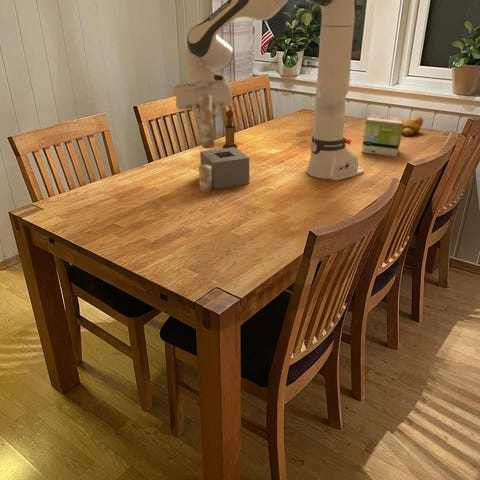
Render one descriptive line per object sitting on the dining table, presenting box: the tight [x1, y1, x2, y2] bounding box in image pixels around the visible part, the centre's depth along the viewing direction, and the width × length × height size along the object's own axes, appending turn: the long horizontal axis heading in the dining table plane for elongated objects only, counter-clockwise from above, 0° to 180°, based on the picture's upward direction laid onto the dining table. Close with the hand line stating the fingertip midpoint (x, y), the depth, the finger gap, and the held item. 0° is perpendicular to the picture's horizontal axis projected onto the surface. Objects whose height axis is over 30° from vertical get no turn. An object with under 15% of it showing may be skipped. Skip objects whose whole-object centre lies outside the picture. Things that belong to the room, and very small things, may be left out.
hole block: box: [199, 147, 250, 190], centre depth 175 cm, size 14×14×10 cm
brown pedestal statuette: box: [222, 109, 238, 149], centre depth 204 cm, size 7×6×18 cm
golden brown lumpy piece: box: [402, 116, 424, 137], centre depth 232 cm, size 13×10×8 cm
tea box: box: [361, 114, 405, 158], centre depth 204 cm, size 15×10×15 cm
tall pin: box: [199, 95, 215, 149], centre depth 166 cm, size 4×4×18 cm
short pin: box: [198, 164, 213, 194], centre depth 166 cm, size 4×4×9 cm
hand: (206, 116), depth 165 cm, fingers closed on tall pin, 4 cm apart
